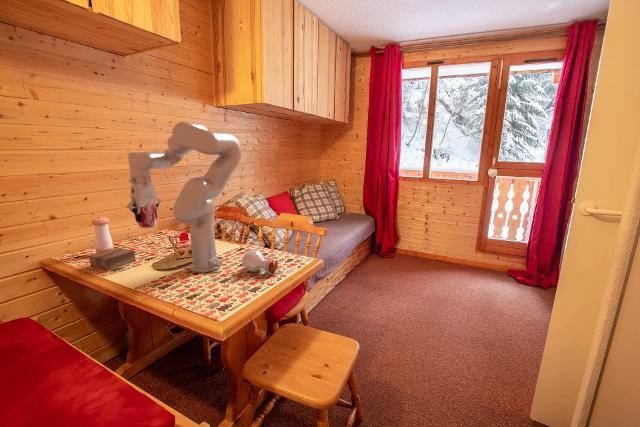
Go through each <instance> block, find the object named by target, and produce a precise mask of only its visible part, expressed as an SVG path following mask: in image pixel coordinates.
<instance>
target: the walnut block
mask: <svg viewBox="0 0 640 427" xmlns="http://www.w3.org/2000/svg"><path fill="white" fill-rule="evenodd" d="M88 257H89V262H90V267H91V268H93V269H94V268H95V269H99V270H104V271H109V272H110V271H112V270H115V269H119V268H120V267H125V266H126V265H128V264H132V263H134V262H136V255H135V250H131V249H125V248H119V247H114V249H111V250H107V251H104V252H101V253H98V254H97V253H95V254H92V255H89V256H88Z"/></svg>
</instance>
